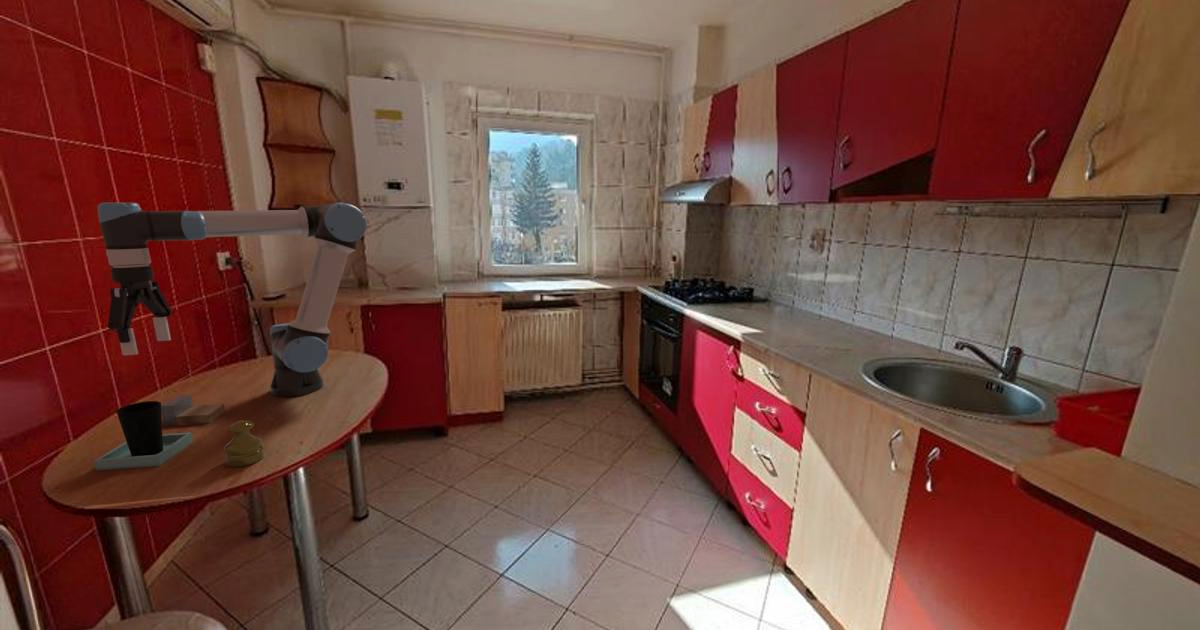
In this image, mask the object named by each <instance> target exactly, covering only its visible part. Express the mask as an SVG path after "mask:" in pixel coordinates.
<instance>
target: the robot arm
mask: <svg viewBox="0 0 1200 630" xmlns="http://www.w3.org/2000/svg"><path fill="white" fill-rule="evenodd" d="M97 214H98V220H99V221H98V222H99V227H100V231H101V234H102V239H103V244H104V246H105V247H104V249H105V251H106V254H105V255H106V256H107V259H108V260H107V261H108V263H109V266H113V267H110V269H109V271H110V276H111V279H112V282H113V283H117V284H119V288H116V287H115V288H110V290H109V291H110V298H111V299H110V307H109V314H108V319H107V320H108V322H107V329H108V330H110V331H116V332H117V337H118V341H119V345H120V349H121V354H122V356H134V355H139V350H138V347H137V341H136V337H135V332H134V328H132V327H131V325H132V322H133V319H134V315H135V312H136V308H137V306H139V305H140V303H143V305H144V306H145V307H146V308H147V309H148V310H149V312H150V313H152V315H153V316H154V317H152V321H153V322H152V323H153V327H154V332H155V336H156V341H157V342H164V341H165V342H166V341H167V342H169V341H171V340H172V338H171V333H170V328H169V322H168V318H167V317H171V316H172V308H171V307H170V305H169V303H168V301H167V299H166V298H165V297H164V294H163V292H162V290H161V289H160V285H159V282H158V281H157V280H155V275H154V270H153V266H151V265H150V264H151V263H152V259H151V255H150V250H149V245H148V242H156V241H158V242H161V241H162V242H163V241H164V242H165V241H168V242H169V241H175V242H176V241H192V242H193V241H199V240H205V239H206V238H218V237H219V238H221V237H246V236H247V237H251V236H252V237H253V236H277V235H278V236H279V235H302V236H303V237H304V238H305V237H306V238H307V237H309V238H310V237H314V238H313V239H314V241H315V242H316V244H317V249H316V252H315V255H314V258H313V262H312V265H311V267H310V268H311V269H310V271H309V274H308V278H307V282H306V284H305V288H304V290H303V291H304V292H303V294H302V298H301V301H300V304H299V306H298V307H299V308H298V311H297V314H296V317H295V319H294V320H292V321H290V322H287V323H280V324H273V325H272V326H271V327H269V337H270V344H271V351H272V359H273V366H274V367H273V368H274V372H273V375H272V379H271V382H270V395H272V396H274V397H279V398H281V397H282V398H290V397H299V396H302V395H303V396H304V395H308V394H312V393H314V392H317V391H319V390H321V389H322V388H323V387H324V385H325V384H324V378H323V377H322V374H321V372H320V370H319V368H321V367H323V366H324V364H325V363H326V362H327V360H328V357H329V347H328V342H329V338H330V335H331V330H330V329H329V327H328V323H329V319H330V316H331V312H332V310H333V306H334V304H335V303H334V302H335V300H336V296H337V293H338V289H339V287H340V283H341V280H342V278H343V273H344V270H345V266H346V264H347V263H346V262H347V259H348V257H349V254H352V253H353V252H355V251H356V248H357V245H358V242H359V240H360V239H361V238H362V237H363V236H364V235H365V233H366V231H367V227H368V224H367V220H366V216H365V215H364V213H363V211H361V209H359V208H358V207H357V206H355V205H353V204H350V203H346V202H335V203H325V204H319V205H314V206H300V207H298V209H291V210H290V209H275V210H274V209H273V210H272V209H271V210H264V209H263V210H195V211H194V210H163V211H162V210H158V211H157V210H152V211H150V210H142V208H141V207H140V204H139V203H137V202H101V203H99V204H98V205H97Z"/></svg>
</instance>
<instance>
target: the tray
mask: <svg viewBox="0 0 1200 630" xmlns="http://www.w3.org/2000/svg"><path fill="white" fill-rule="evenodd" d="M162 436H163V451H162V452H160V453H158V454H156V455H147V456H134V457H132V456H131V453H130V450H129V447H128V444H127V441H126V440H125V441H124V442H123V443H121V444H119V445H118V446H116V447H115V448H113V449H111V450H110V451H108V452H107V453H105V454H103V455H101V456H99V457H98V458H96V459H95V460H93V466H94V468H95V472H101V471H113V470H125V469H135V468H137V469H138V468H150V467H151V468H152V467H161V466H162V465H164V464H165V463H166V462H167V461H169V460H171V459H172V458H173V457H174V456H176V455H178V453H180V452H181V451H183V450H184V449H186V448H187V447H188V446H189V445H191V444H192V443H193V442H194V436H193V432H181V433H180V432H179V433H167V434H166V433H164V434H163V433H162Z"/></svg>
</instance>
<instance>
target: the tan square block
mask: <svg viewBox="0 0 1200 630" xmlns="http://www.w3.org/2000/svg"><path fill="white" fill-rule="evenodd" d="M225 412H226V407H225V403H220V404H219V403H218V404H217V403H216V404H200V405H199V404H198V405H197V404H196V405H193V406H192V407H190V408H189V409H187V410H185V411H184V412H182V413H181V414H179V415H177V416H176V422H177V425H176V426H187V425H201V424H210V423H212V422H213V421H214V420H216V419H217V418H219V417H221V415H223V414H224V413H225Z"/></svg>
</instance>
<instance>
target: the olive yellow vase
mask: <svg viewBox="0 0 1200 630" xmlns="http://www.w3.org/2000/svg"><path fill="white" fill-rule="evenodd" d="M254 426H255V423H254V422H253V421H250V420H243V419H242V420H237V421H236V422H234V423H232V424H231V425H229V426H228V428H227V431H228V432H229V433H233V434H234V437H233V438H232V439H231V440H230V441H229V442H227V443H226V444H225V446H224V447H223V450H224V453H225V456H224V457H225V461H226V466H229V467H231V468H241V467H246V466H249V465H252V464H256V463H257V462H259V461H260V460H262V459H263V458H264V456H265V454H264V453H265V452H264V446H262V445H263V439H262V438H261V437H260V436H257V435H254V434H251V433H250V430H251V429H253V428H254Z"/></svg>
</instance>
